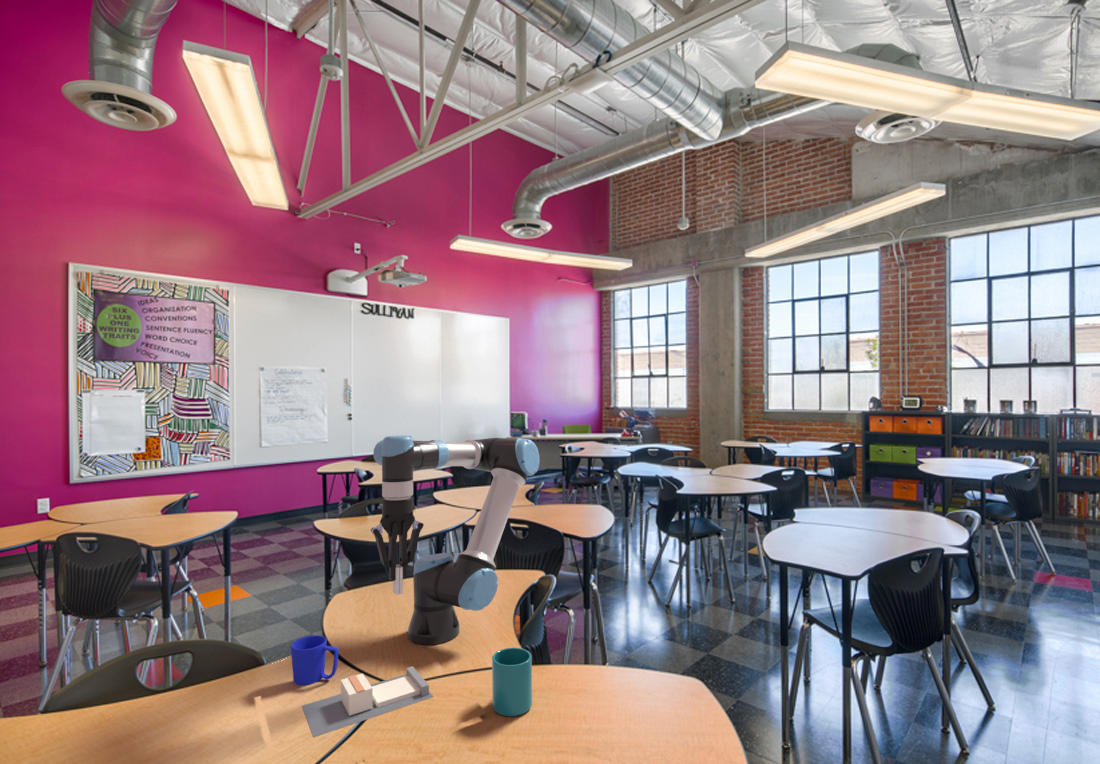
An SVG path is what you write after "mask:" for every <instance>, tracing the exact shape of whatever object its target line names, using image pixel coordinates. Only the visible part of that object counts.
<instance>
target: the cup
mask: <svg viewBox="0 0 1100 764" xmlns="http://www.w3.org/2000/svg"><path fill="white" fill-rule="evenodd" d="M532 657H533V656H532V653H531V652H530V651H529V650H527V649H525V648H522V647H507V648H503V649H500V650H498V651H496V652H494V654H493V655H492V657H491V673H492V674H491V675H492V676H491V677H492V679H491V681H492V682H491V683H492V684H491V686H492V689H491V690H492V693H491V694H492V709H493V710H494V711H495V712H496V713H497V714H499V715H500V716H504V717H518V716H521V715H523V714H525V713H527V712H528V711H529V710H530V709H531V708H532V705H533V667H532V666H533V664H532V663H533V661H532V660H533V659H532Z"/></svg>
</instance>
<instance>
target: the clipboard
mask: <svg viewBox="0 0 1100 764" xmlns="http://www.w3.org/2000/svg"><path fill="white" fill-rule="evenodd" d="M370 685H371V687H372V688H373V708H372V709H369V710H366V711H362V712H359V713H356V714H353V715H350V716H349V714H348V712H347V710H346V708H345V706H344V705H343V703H342V701H341V693H340V694H336V695H333V696H329V697H325V698H323V699H318V700H316V701H313V702H308V703H306V704H304V705H301V708H302V711H303V713H304V716H305V719H306V720H307V723H308V726H309V729H310V732H311V734H312V737H313V738H316V737H318V736H321V735H325V734H327V733H331V732H334V731H336V730H337V731H338V730H339V729H343V728H346V727H348V726H352V725H354V724H358V723H360V722H363V721H364V722H365V721H366V720H369V719H372V718H375V717H378V716H381V715H384V714H387V713H390V712H394V711H396V710H399V709H403V708H405V707H408V706H411V705H413V704H417V703H420V702H423V701H425V700H428V699H432V698H434V695H433V694H432V692H431V691H430V685H429V683H428V682H427V680H425V679H424V678H423V676H422V675H421V674H420V673H419V672H418V671H417V670H416V668H415V667H414V666H413V665H412V666H409V667H406V673H405V674H402V675H399V676H395V677H392V678H388V679H385V680H382V681H379V682H376V683H372V684H370Z"/></svg>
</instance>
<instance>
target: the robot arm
mask: <svg viewBox="0 0 1100 764" xmlns="http://www.w3.org/2000/svg"><path fill="white" fill-rule="evenodd" d="M373 460H374V461H375V463H376V464H378V465H379V466H381V475H382V479H381V480H382V481H381V487H382V488H381V490H382V491H381V492H382V493H381V496H382V498H383V499H382V500H381V519H380V520H379V523H378V524H377V526H375V527H372V528H371V529H370V532H371V533H372V535H373V536H374V538H375V543H376V545H377V550H378V554H379V560H380V563H381V564H382V566H384V567H387V568H388V578H389V580H390V581H391V582H392V593H394V595H396V596H397V595H398V596H399V595H402V594H404V584H403V583H404V579H406V578H407V567H408V565H409V564H410V563H413V562H414V564H413V573H412V574H413V578H412V579H413V611H412V614H411V615H412V616H411V618H410V621H409V625H408V628H407V638H408V639H409V641H411V642H413V643H414V644H419V645H436V644H437V645H439V644H441V643H446V642H449V641H451V640H453V639H455V638H457V636H459V634H460V622H459V619H458V615H457V613H456V609H455V607H457V608H461V609H463V610H465V611H476V612H478V611H481V610H483V609H484V608H486V607H487V606H489V605H490V604H491V603H492V601H493V599H494V598H495V596H496V593H497V591H498V587H499V583H498V581H499V577H498V575H497V573H496V572H495V571H496V567H497V566H496V564H495V562H494V558H495V555H496V552H497V550H498V547H499V545H500V542H501V538H502V536H503V532H504V530H505V527H506V524H507V522H508V520H509V519H508V518H509V516H510V513H511V511H512V507H513V505H514V501H515V499H516V497H517V493H518V491H519V488H520V487H522V486H524V485H525V484H526V481H527V479H528V477H531V476H534V475H535V474H536V473H537V472H538V470H539V467H540V461H541V460H540V453H539V449H538V447H537V445H536V443H535V442H534V441H533V440H531V439H526V438H523V437H522V438H521V437H518V438H510V437H509V438H508V437H491V438H490V437H489V438H488V437H487V438H481V439H467V440H465V441H463V442H459V441H454V442H453V441H444V440H435V439H434V440H433V439H431V440H414V437H413V436H412V435H405V434H403V435H386V436H385V437H384V438H383V439H382V440H379V441H378V442H377V443H376V444H375V446H374V448H373ZM442 467H463V468H465V469H468V470H478V471H484V472H488V473H489V472H490V473H491V475H492V477H493V478H492V481H491V484H490V487H489V488H488V492H487V494H486V497H485V498H484V499H485V500H484V503H483V505H482V507H481V510H480V513H479V516H478V518H477V520H476V523H475V526H474V529H473V531H472V533H471V537H470V539H469V541H468V544H467V547H466V549H465V550H464V551H462V552H460V553H459V554H458V556H457V559H456V561H454V559H455V557H454V556H453V554H452V553H447V552H443V553H442V552H441V553H440V552H439V553H436V554H435V553H433V554H429V555H426V556H422V557H420V558H417V560H415V557H416V553H417V547H418V542H419V538H420V535H421V532H422V530H423V528H424V523H423V522H421V521H420V520H416V518H415V515H414V498H413V495H414V472H418V471H425V470H426V471H427V470H432V469H434V470H436V469H438V468H442ZM411 527H412V529H411ZM410 529H411V533H410V539H409V543H408V532H409V530H410ZM383 530H384V531H385V532H386V533H387V538H388V552H387V549H386V545H385V541H384V538H383V535H382V534H383V532H384V531H383ZM397 540H398V547H399V548H398V561H399V564H397ZM387 553H388V554H387Z"/></svg>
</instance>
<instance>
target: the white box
mask: <svg viewBox="0 0 1100 764" xmlns="http://www.w3.org/2000/svg"><path fill="white" fill-rule="evenodd" d="M371 685H372V684H370V682H369V680H368V679H367V677H366V675H364V673H360V674H353V675H349V676H348V677H346V678H342V679H340V694H341V701H342V703H343V705H344V706H345V708H346V710H347V712H348V714H349V716H350V715H353V714H356V713H359V712H362V711H366V710H369V709H372V708H373V688H372V687H371Z"/></svg>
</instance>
